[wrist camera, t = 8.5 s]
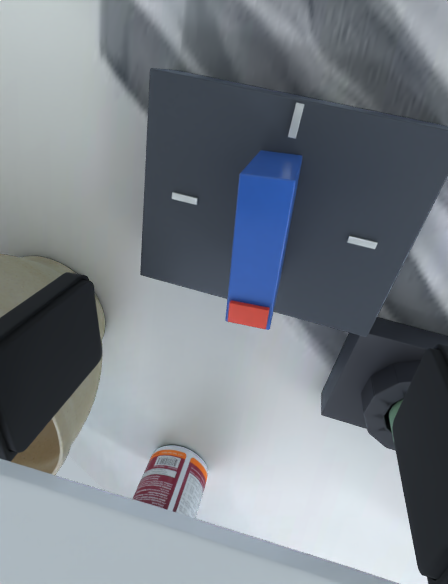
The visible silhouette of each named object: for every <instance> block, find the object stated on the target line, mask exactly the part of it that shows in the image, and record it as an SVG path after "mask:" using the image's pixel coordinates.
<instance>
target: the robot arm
mask: <svg viewBox="0 0 448 584" xmlns="http://www.w3.org/2000/svg"><path fill="white" fill-rule="evenodd" d="M101 357H102V344H101V337H100V330H99V322H98V315H97V307H96V300H95V293H94V286H93V283H92V282H91V281H89V279H88V277H87V276H85V275H81V274H76V273H70V272H66V273H64V274H62V275H61V276H59V277H58V278H57V279H55V280H54V281H52V282H51V283H49V284H48V285H46V286H45V287H44V288H42V289H41V290H39V291H38V292H36V293H35V294H34V295H32V296H31V297H29V298H28V299H26V300H25V301H24V302H22V303H21V304H19V305H18V306H16V307H15V308H13V309H12V310H11V311H9V312H8V313H6V314H5V315H3V316H2V317H1V318H0V584H399V583H396V582H393V581H390V580H387V579H384V578H381V577H378V576H375V575H372V574H369V573H366V572H363V571H360V570H357V569H354V568H351V567H348V566H344V565H341V564H338V563H335V562H332V561H329V560H325V559H322V558H319V557H316V556H313V555H310V554H306V553H303V552H300V551H297V550H294V549H291V548H287V547H284V546H281V545H278V544H275V543H272V542H268V541H265V540H262V539H259V538H256V537H253V536H249V535H246V534H243V533H240V532H237V531H234V530H230V529H227V528H224V527H221V526H218V525H214V524H211V523H208V522H205V521H202V520H198V519H195V518H192V517H189V516H185V515H182V514H179V513H176V512H173V511H169V510H166V509H163V508H160V507H157V506H153V505H150V504H147V503H144V502H140V501H137V500H134V499H131V498H127V497H124V496H121V495H118V494H114V493H111V492H108V491H105V490H102V489H98V488H95V487H91V486H89V485H85V484H82V483H78V482H75V481H72V480H69V479H66V478H62V477H59V476H56V475H52V474H49V473H46V472H42V471H39V470H36V469H33V468H29V467H26V466H23V465H19V464H16V463H13V462H11V461H12V460H13V458H14V457H15V456H16V455H17V454H18V453H21V452H23V451H25V450H26V449H27V448H28V447H29V445H30V444H31V443H32V442H33V441H34V440H35V438H36V437H37V436H38V435H39V434H40V432H41V431H42V430H43V429H44V428H45V426H46V425H47V424H48V423H49V422H50V420H51V419H52V418H53V417H54V416H55V414H56V413H57V412H58V411H59V410H60V408H61V407H62V406H63V405H64V404H65V402H66V401H67V400H68V399H69V398H70V397H71V395H72V394H73V393H74V392H75V391H76V389H77V388H78V387H79V386H80V385H81V383H82V382H83V381H84V380H85V379H86V377H87V376H88V375H89V374H90V373H91V371H92V370H93V369H94V368H95V367H96V365H97V364H98V363H99V362H100V360H101ZM392 432H393V439H394V444H395V449H396V454H397V460H398V465H399V470H400V476H401V481H402V486H403V492H404V497H405V502H406V507H407V513H408V518H409V523H410V529H411V534H412V539H413V545H414V550H415V555H416V560H417V565H418V569H419V571H420V573H421V574H422V575H424V576H427V579H428V584H448V346H447V345H442V344H438V345H436V346H435V347H434V349H432V348H428V349H427V350H426V351H425V353H424V355H423V357H422V359H421V362H420V364H419V366H418V368H417V370H416V372H415V375H414V377H413V379H412V381H411V383H410V386H409V388H408V390H407V392H406V394H405V396H404V399H403V401H402V403H401V405H400V407H399V409H398V412H397V414H396V416H395V418H394V421H393V427H392Z"/></svg>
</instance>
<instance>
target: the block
mask: <svg viewBox="0 0 448 584" xmlns="http://www.w3.org/2000/svg"><path fill="white" fill-rule="evenodd" d="M438 344H442V345H447V346H448V336H445V335H441V334H437V333H434V332H430V331H426V330H422V329H419V328H415V327H411V326H408V325H404V324H400V323H396V322H393V321H389V320H385V319H381V318H378V317H377V318H376V320H375V322H374V324H373V326H372V328H371V330H370V332H369V334H368V336H367V337H364V336H360V335H357V334H353V333H349V335H348V337H347V339H346V341H345V343H344V345H343V348H342V350H341V352H340V354H339V356H338V358H337V361H336V363H335V365H334V367H333V369H332V371H331V374H330V376H329V378H328V380H327V382H326V384H325V387H324V389H323V391H322V393H321V415H323V416H326V417H330V418H333V419H336V420H340V421H343V422H346V423H349V424H353V425H356V426H359V427H363V428H366V429H367V430H368V432H369V434H371V435H372V436H373V437H374V438H375V439H377V440H378V441H379V442H380V443H381V444H382V445H384V446H385V447H386V448H389V449H392V450H396V449H395V444H394V441H393V436H392V431H391V426H390V421H389V412H390V410H391V408H392V407H393V406H394V405H395V404H396V403H397V402H398V401H400V400H402V399H404V396H405V394H406V392H407V390H408V388H409V386H410V383H411V381H412V379H413V377H414V375H415V372H416V370H417V368H418V366H419V364H420V362H421V359H422V357H423V355H424V353H425V351H426V350H427V349H428V348H432V349H434V347H435V346H436V345H438Z"/></svg>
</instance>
